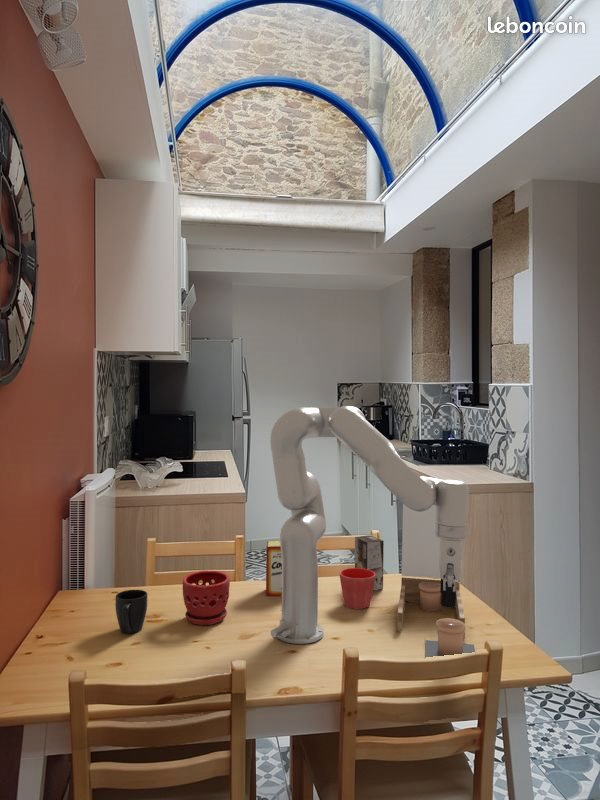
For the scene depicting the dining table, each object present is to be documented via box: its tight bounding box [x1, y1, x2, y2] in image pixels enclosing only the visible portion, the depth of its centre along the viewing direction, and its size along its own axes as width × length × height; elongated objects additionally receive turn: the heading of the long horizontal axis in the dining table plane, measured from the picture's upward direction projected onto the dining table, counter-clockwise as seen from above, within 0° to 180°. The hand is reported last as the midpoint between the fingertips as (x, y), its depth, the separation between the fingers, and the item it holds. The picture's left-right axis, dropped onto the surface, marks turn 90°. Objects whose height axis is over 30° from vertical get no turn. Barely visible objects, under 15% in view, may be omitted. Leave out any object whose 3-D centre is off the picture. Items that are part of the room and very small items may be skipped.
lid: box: [401, 503, 457, 581], centre depth 183 cm, size 25×17×2 cm
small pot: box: [435, 617, 466, 656], centre depth 142 cm, size 7×7×7 cm
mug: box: [114, 589, 148, 635], centre depth 153 cm, size 8×12×10 cm
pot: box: [419, 582, 441, 613], centre depth 173 cm, size 7×7×7 cm
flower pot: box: [339, 567, 376, 610], centre depth 175 cm, size 11×11×10 cm
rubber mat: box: [424, 639, 476, 658], centre depth 142 cm, size 12×12×1 cm
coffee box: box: [354, 534, 385, 591], centre depth 193 cm, size 9×6×16 cm
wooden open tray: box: [397, 576, 466, 638], centre depth 166 cm, size 25×17×7 cm
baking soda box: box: [265, 540, 282, 597], centre depth 186 cm, size 10×6×16 cm
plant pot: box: [182, 570, 231, 626], centre depth 162 cm, size 13×13×12 cm
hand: (447, 600), depth 142 cm, fingers open, 9 cm apart
